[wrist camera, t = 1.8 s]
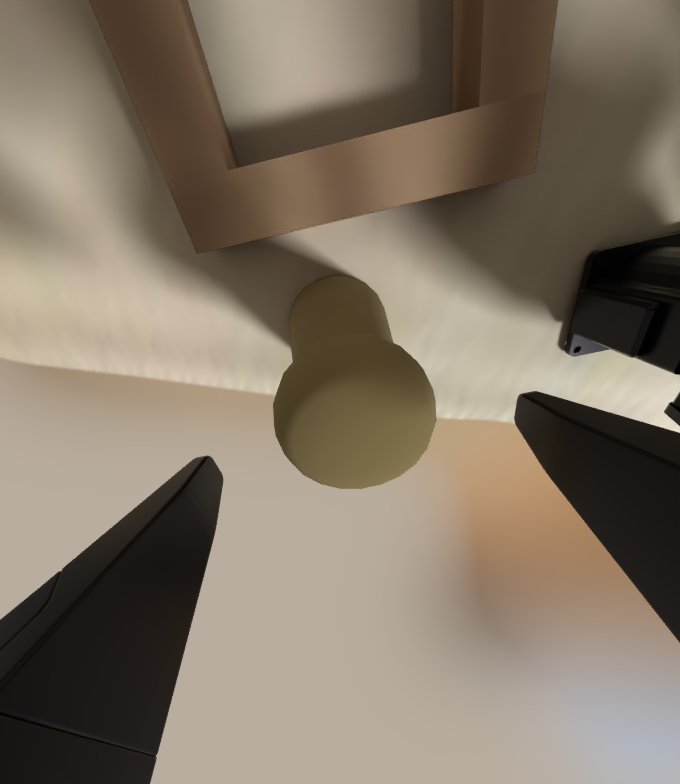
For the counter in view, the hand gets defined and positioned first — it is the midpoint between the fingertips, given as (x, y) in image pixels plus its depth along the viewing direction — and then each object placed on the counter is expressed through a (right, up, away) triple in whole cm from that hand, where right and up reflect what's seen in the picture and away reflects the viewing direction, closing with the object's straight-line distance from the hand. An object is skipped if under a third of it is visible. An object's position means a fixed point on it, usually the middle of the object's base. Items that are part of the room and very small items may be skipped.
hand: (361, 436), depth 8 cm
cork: (-1, +5, +9) cm, 11 cm away
